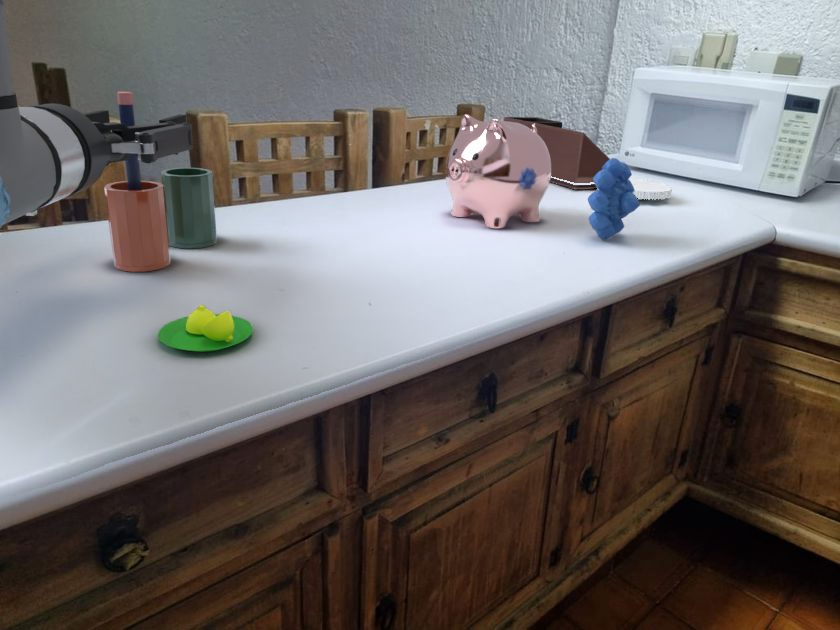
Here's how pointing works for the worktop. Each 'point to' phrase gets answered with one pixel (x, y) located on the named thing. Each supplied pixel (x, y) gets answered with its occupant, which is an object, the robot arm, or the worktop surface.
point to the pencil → (128, 119)
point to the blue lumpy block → (611, 198)
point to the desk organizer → (567, 152)
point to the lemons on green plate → (205, 331)
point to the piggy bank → (497, 171)
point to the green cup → (190, 207)
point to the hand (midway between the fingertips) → (145, 124)
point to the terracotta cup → (138, 226)
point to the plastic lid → (650, 189)
